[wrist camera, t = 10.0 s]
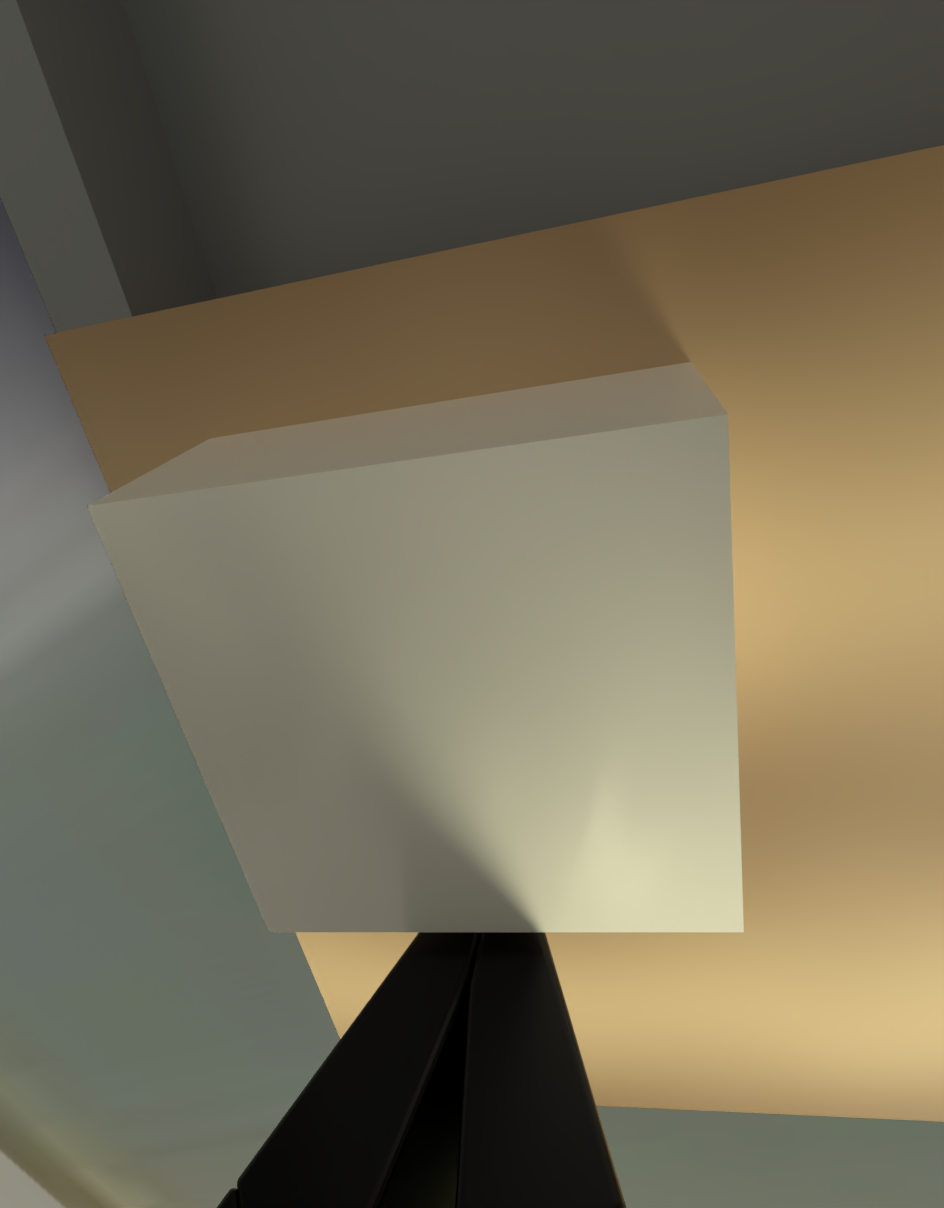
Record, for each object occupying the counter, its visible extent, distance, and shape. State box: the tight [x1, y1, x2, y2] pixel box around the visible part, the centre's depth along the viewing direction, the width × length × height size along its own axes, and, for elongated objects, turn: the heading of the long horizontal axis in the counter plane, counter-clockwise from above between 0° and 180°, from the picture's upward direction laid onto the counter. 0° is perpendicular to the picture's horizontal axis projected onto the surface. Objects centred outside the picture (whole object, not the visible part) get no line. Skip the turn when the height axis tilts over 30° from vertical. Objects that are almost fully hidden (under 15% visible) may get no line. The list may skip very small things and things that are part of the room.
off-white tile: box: [87, 362, 744, 932], centre depth 7 cm, size 4×4×2 cm
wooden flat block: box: [44, 145, 944, 1121], centre depth 9 cm, size 12×16×4 cm
